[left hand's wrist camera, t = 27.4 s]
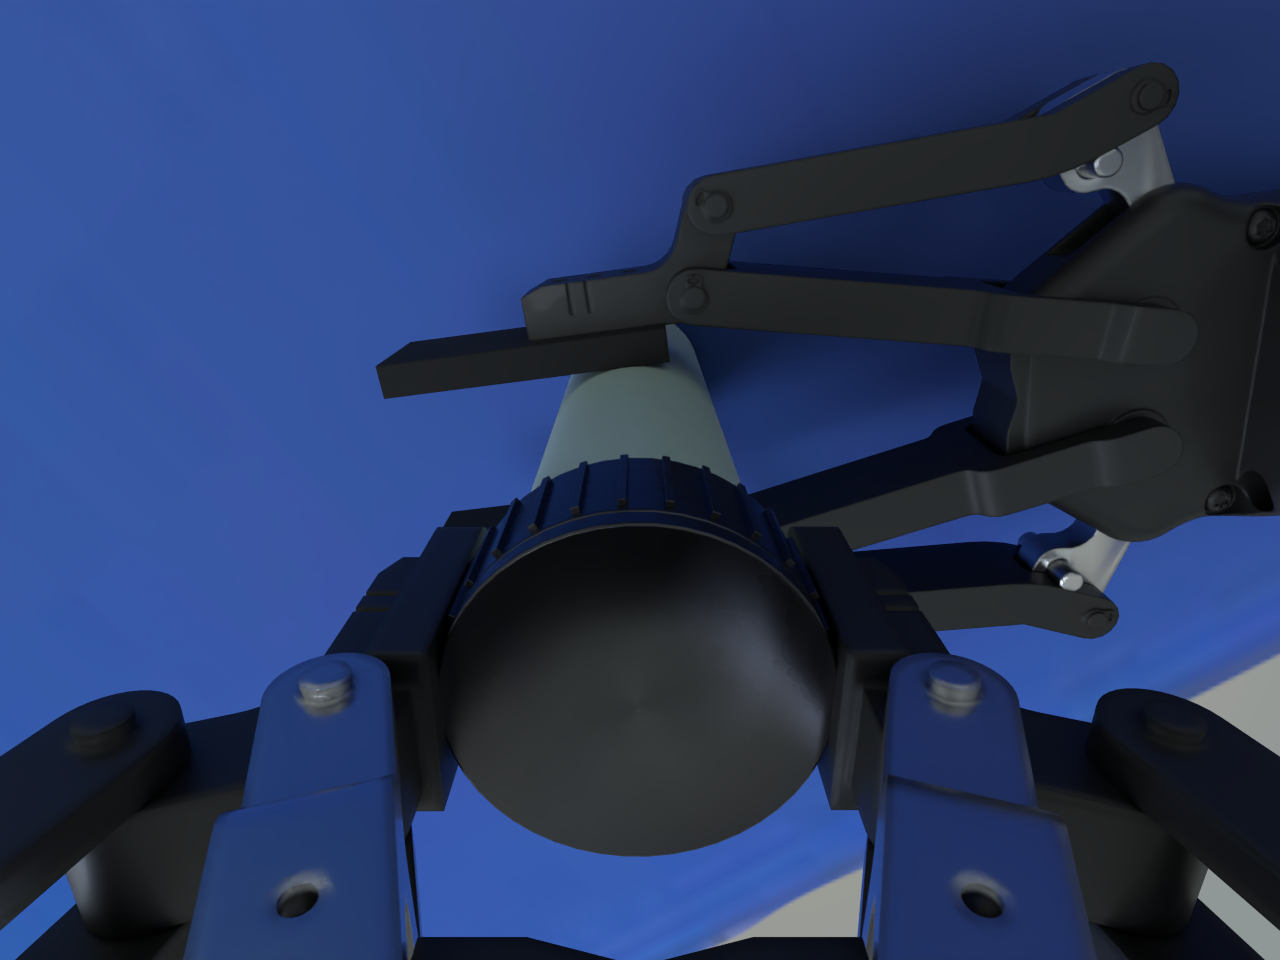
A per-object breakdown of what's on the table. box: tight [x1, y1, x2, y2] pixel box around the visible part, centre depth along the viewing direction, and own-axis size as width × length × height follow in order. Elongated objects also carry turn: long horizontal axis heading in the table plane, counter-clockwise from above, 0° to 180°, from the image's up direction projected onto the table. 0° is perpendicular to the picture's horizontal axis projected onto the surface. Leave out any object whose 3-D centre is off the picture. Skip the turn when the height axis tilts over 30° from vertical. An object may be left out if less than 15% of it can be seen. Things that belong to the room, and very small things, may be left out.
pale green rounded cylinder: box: [531, 324, 740, 492], centre depth 17 cm, size 4×4×16 cm
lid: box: [438, 454, 837, 856], centre depth 10 cm, size 5×5×2 cm
